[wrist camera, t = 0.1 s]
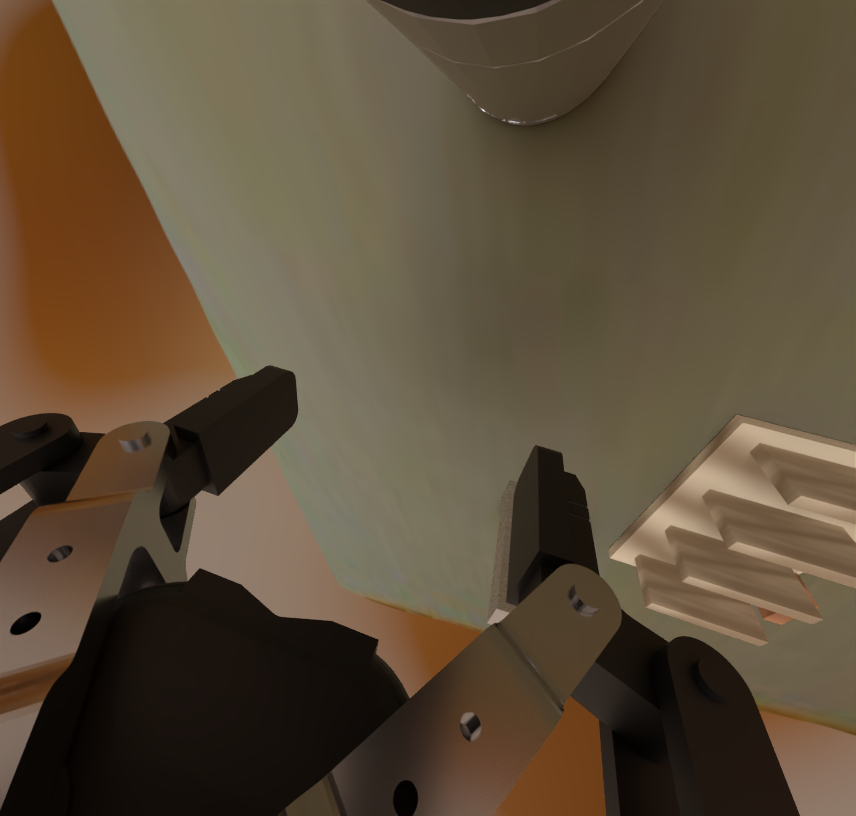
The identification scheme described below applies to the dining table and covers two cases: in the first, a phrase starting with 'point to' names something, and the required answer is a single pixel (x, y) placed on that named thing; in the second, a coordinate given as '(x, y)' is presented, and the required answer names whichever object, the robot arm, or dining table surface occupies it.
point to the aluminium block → (502, 560)
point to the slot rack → (748, 530)
